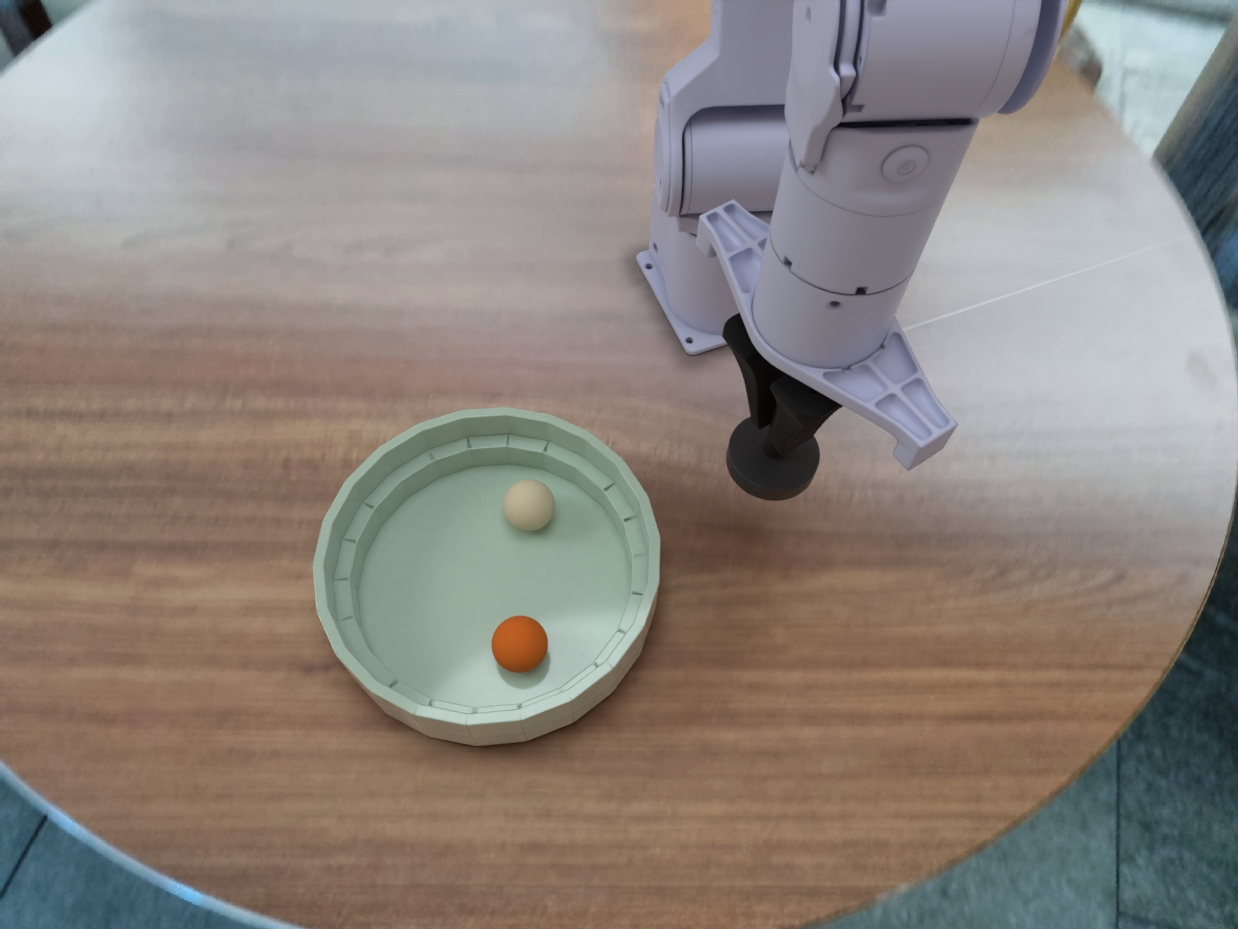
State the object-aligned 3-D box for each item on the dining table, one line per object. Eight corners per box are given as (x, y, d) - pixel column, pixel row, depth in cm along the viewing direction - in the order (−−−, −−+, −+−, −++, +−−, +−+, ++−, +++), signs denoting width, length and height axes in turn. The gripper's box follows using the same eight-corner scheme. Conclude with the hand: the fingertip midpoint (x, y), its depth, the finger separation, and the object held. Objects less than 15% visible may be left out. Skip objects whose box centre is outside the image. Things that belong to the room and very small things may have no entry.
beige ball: (498, 503, 55) (493, 479, 52) (545, 487, 56) (543, 462, 53) (514, 546, 54) (510, 523, 51) (563, 529, 54) (561, 506, 52)
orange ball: (487, 638, 51) (481, 619, 48) (538, 619, 51) (535, 599, 49) (504, 688, 50) (499, 671, 47) (556, 668, 50) (554, 650, 48)
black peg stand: (777, 409, 51) (803, 322, 45) (834, 472, 49) (870, 391, 43) (708, 450, 50) (724, 367, 43) (763, 517, 48) (789, 440, 41)
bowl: (304, 507, 56) (279, 466, 51) (589, 415, 59) (588, 369, 55) (381, 803, 47) (360, 783, 43) (707, 673, 51) (718, 643, 47)
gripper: (1061, 319, 33) (939, 496, 45) (803, 92, 39) (755, 301, 51) (917, 408, 31) (829, 570, 43) (667, 154, 37) (650, 358, 49)
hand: (782, 429), depth 47 cm, fingers closed on black peg stand
